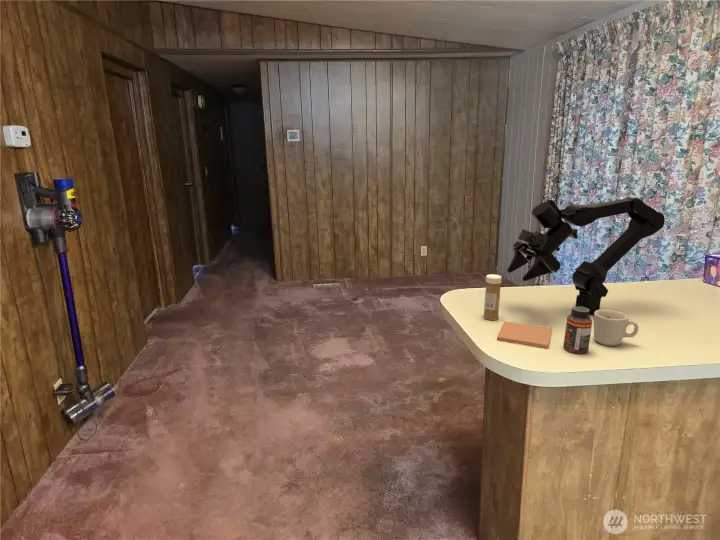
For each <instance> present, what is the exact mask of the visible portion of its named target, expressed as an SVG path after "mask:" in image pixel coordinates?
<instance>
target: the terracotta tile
mask: <svg viewBox="0 0 720 540" xmlns="http://www.w3.org/2000/svg"><path fill="white" fill-rule="evenodd" d="M551 335H552V327H545V326H540V325H533V324H525V323H518V322H513V321H508V320H507V321H506V320H504V321H503V323H502V326H501V328H500V330H499V332H498V335H497V336H496V338H497V339H496V341H498V340H499V342H504V341H506V342H505V343H510V342H512V343H511V344H516V343H517V345H523V346H530V347H534V346H535V348H539V349H540V348H541V349H547V350H549V346H550V342H551V341H550V340H551Z"/></svg>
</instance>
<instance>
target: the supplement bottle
mask: <svg viewBox="0 0 720 540" xmlns="http://www.w3.org/2000/svg"><path fill="white" fill-rule="evenodd" d="M589 311H590V310H589V309H588V308H585V307H580V306H576V307H575V306H573V307H572V308H571V313H569V314H568V316H567V317H566V323H565V330H564V331H565V333H564V340H563V348H564V350H566V351H567V352H570V353H573V354H577V355H579V354H580V355H581V354H586V353H587V352H588V351H589V349H590V341H591V333H592V326H593V319H592V318H591V316H590V315H589Z"/></svg>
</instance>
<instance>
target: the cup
mask: <svg viewBox="0 0 720 540" xmlns="http://www.w3.org/2000/svg"><path fill="white" fill-rule="evenodd" d="M630 325H633V327H634V329H633V331H632V332H631V333H628V332H627V328H628V326H630ZM638 332H639V324H638V323H637V321H635V320H633V319H629V316H628V315H626V314H625V313H624V312H621V311H618V310H612V309H599V310H597V311H595V312H594V315H593V339H594V341H596V342H597V343H599V344H601V345H604V346H610V347H612V346H613V347H614V346H615V347H616V346H618V345H619V344H621V342H622V340H623V338H633V337H635V336H637V334H638Z"/></svg>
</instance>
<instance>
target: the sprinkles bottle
mask: <svg viewBox="0 0 720 540" xmlns="http://www.w3.org/2000/svg"><path fill="white" fill-rule="evenodd" d="M502 278H503V277H502V276H501V275H499V274H492V273H491V274H487V275H486V276H485V293H484V307H483V317H482V318H484V319H485V320H488V321H496V320H499V313H500V311H499V309H500V302H501V301H500V299H501V285H502V280H503V279H502Z"/></svg>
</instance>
